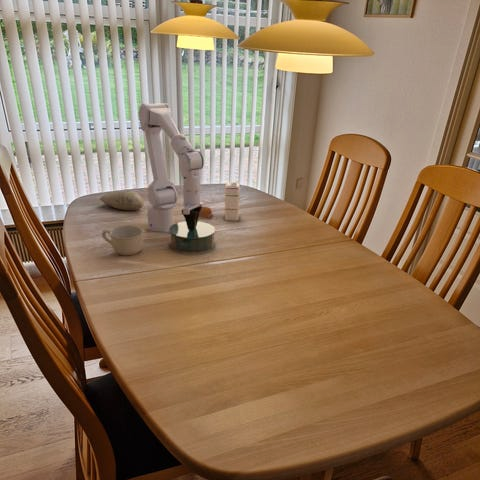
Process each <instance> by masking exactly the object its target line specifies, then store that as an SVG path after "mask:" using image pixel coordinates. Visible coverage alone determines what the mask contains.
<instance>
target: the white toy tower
mask: <svg viewBox="0 0 480 480" xmlns="http://www.w3.org/2000/svg"><path fill="white" fill-rule="evenodd" d="M240 185H241V184H240V183H239V182H235V181H233V182H232V181H229V182H227V181H226V182H225V187H224V220H226V221H227V220H228V221H239V219H240V187H241V186H240Z"/></svg>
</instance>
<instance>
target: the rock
mask: <svg viewBox="0 0 480 480" xmlns="http://www.w3.org/2000/svg"><path fill="white" fill-rule="evenodd" d="M99 200H100V201H101V202H102V203H103V204H105V205H107V206H110V207H112V208H114V209H117V210H120V211H121V210H123V211H136V210H140V209H142V208H143V207H144V204H145V203H144V199H143V198H142V197H141V195H140V194H138V193H137V192H136V191H133V190H122V191H117V192H116V191H115V192H114V191H113V192H109V193H106V194H103V195H102V196H100V198H99Z"/></svg>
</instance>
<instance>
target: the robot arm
mask: <svg viewBox="0 0 480 480" xmlns="http://www.w3.org/2000/svg"><path fill="white" fill-rule="evenodd" d="M137 113H138V114H137V115H138V119H139V120H138V121H139V124H140V125H139V126H140V130H141V131H142V132H144V136H145V141H146V147H147V153H148V158H149V162H150V163H149V164H150V168H151V169H150V170H151V173H152V174H151V175H152V181H151V183H150V184H149V185H148V186H147V199H148V203H149V205H148V208H147V214H146V215H147V230H148V231H157V232H164V233H165V232H166V233H170V231H169V229H170V227H171V226H172V225H174V224H175V222H174V207H175V206H176V205H175V204H176V203H177V202H178V199H179V198H178V197H179V196H178V192H177V190H176V186H175V183H174V182H173V181H171V180H170V179H168V174H167V169H166V163H165V159H164V151H163V145H162V141H161V140H162V139H161V136H160V135H161V131H163V132H164V133H165V134H166V135H167V137H168V138H169V139H170V143H169V144H170V147H171V148H172V150H173V152H174V153H175V155H176V156H177V157H178V165H179V168H180V174H181V176H182V197H183V201H182V207H183V208H182V209H181V214H182V216H183V217H184V220H185V222H186V224H187V227H188V229H189V230H194V228H195V221H196V226H197V222H199V218H200V217H199V213H200V211H201V209H202V206H203V207H204V205H205V203H204V201H201V170H202V169H203V167H204V166H205V165H204V163H205V159H204V156H203V154H202V152H201V151H200V150H197V149H196V148H194V147H193V145H192V144H191V143H190V140H188V138H187V137H186V135H185V134H183V133H180V132H179V130H178V127H177V126H176V124H175V121H174V120H173V118H172V117H173V113H172V109H171V107H170V105H169V104H168V103H167V102H163V103H161V102H160V103H141V104H140V106H139V108H138V112H137Z"/></svg>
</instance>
